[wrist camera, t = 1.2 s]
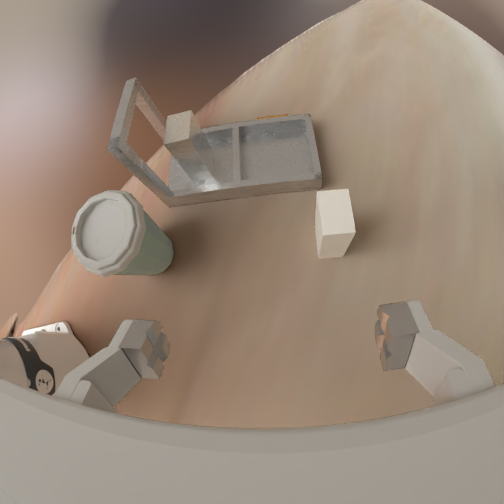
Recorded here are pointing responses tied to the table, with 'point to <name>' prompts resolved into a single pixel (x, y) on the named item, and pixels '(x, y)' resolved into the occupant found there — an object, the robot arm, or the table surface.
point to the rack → (220, 154)
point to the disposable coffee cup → (119, 237)
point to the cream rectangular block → (333, 223)
